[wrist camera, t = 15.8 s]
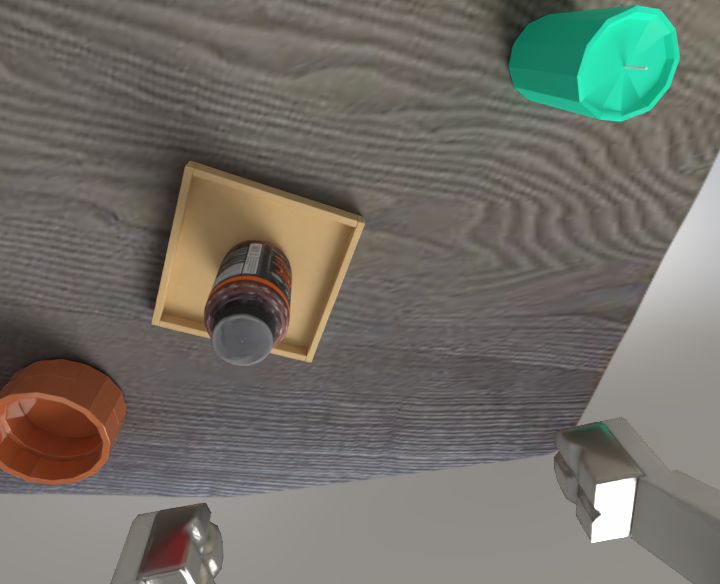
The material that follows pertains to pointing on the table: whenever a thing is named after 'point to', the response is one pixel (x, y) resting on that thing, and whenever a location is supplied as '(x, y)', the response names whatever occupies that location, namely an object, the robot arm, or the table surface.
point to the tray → (254, 222)
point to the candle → (597, 61)
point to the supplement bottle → (249, 303)
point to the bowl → (58, 421)
